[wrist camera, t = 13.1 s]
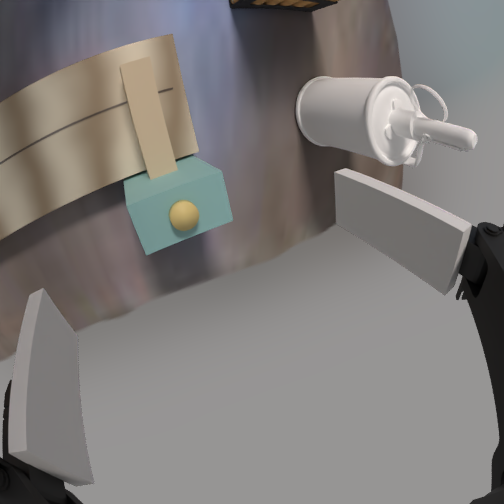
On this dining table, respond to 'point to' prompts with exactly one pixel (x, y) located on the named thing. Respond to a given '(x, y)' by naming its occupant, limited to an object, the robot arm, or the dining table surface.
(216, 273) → the dining table surface
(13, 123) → the board
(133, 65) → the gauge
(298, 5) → the ammunition clip
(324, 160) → the dining table surface
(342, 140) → the white smoke grenade
